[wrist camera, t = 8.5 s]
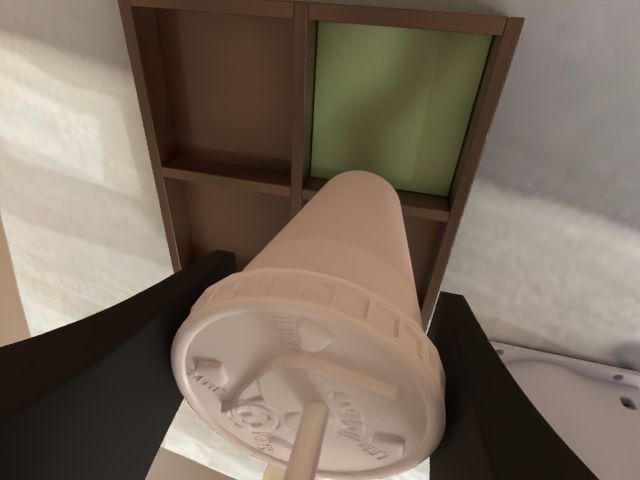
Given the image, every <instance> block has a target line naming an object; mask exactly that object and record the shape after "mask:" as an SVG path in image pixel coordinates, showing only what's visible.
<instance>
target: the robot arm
mask: <svg viewBox="0 0 640 480" xmlns="http://www.w3.org/2000/svg"><path fill="white" fill-rule="evenodd" d="M234 273H237V269H236V258H235V253H234V252H229V251H224V250H218V249H217V250H215V251H213V252H211V253H209V254H208V255H206V256H204V257H202V258H201V259H199V260H197V261H196V262H194V263H192V264H190V265H189V266H187V267H185V268H184V269H182V270H180V271H178V272H177V273H175V274H173V275H171V276H170V277H168V278H166V279H164V280H163V281H161V282H159V283H157V284H155V285H153V286H152V287H150V288H148V289H146V290H144V291H142V292H140V293H138V294H136V295H134V296H132V297H131V298H129V299H127V300H125V301H123V302H120V303H118V304H116V305H114V306H112V307H110V308H108V309H105V310H103V311H101V312H98V313H96V314H94V315H91V316H89V317H86V318H84V319H82V320H79V321H76V322H74V323H71V324H68V325H65V326H63V327H60V328H57V329H55V330H52V331H49V332H46V333H44V334H41V335H38V336H35V337H32V338H29V339H26V340H22V341H19V342H17V343H13V344H9V345H6V346H3V347H0V480H145V478H146V476H147V474H148V471H149V469H150V467H151V465H152V462H153V460H154V458H155V456H156V454H157V452H158V450H159V448H160V445H161V443H162V441H163V439H164V437H165V435H166V433H167V431H168V429H169V427H170V425H171V423H172V421H173V419H174V417H175V415H176V413H177V411H178V409H179V407H180V405H181V403H182V401H183V399H184V396H183V395H182V393H181V392H180V390H179V388H178V385H177V382H176V380H175V377H174V375H173V371H172V365H171V347H172V343H173V339H174V337H175V335H176V333H177V331H178V330H179V328H180V327H181V325H182V324H183V322H184V321H185V320H186V319H187V318H188V316H189V315H190V312H191V308H192V306H193V305H194V304H195V303H196V301H197V300H198V299H199V298H200V296H201V295H202V294H203V293H204V291H205V290H206V289H207V288H208V287H210V286H212V285H214V284H215V283H217V282H219V281H221V280H222V279H224V278H226V277H228V276H229V275H231V274H234ZM427 337H428V338H429V339H430V340H431V342H432V343H433V344H434V346H435V347H436V348H437V351H438V354H439V357H440V360H441V363H442V366H443V369H444V371H445V374H446V386H445V413H446V424H445V430H444V434H443V437H442V439H441V441H440V443H439V445H438V447H437V448H436V449H435V451H434V452H433V453H432V454H431V455H430V480H640V390H639V388H640V372H637V371H632V370H627V369H622V368H618V367H613V366H608V365H603V364H598V363H594V362H589V361H584V360H579V359H575V358H570V357H565V356H560V355H555V354H551V353H546V352H541V351H536V350H531V349H527V348H522V347H517V346H512V345H507V344H503V343H498V342H493V341H489V340H488V338H487V336H486V335H485V333H484V331H483V329H482V328H481V326H480V324H479V323H478V321H477V319H476V317H475V316H474V314H473V312H472V310H471V308H470V306H469V305H468V303H467V301H466V299H465V298H464V296H463V295H459V294H454V293H448V292H443V291H441V292H440V295H439V298H438V301H437V304H436V308H435V311H434V314H433V317H432V320H431V324H430V327H429V330H428V333H427Z"/></svg>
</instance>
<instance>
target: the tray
mask: <svg viewBox="0 0 640 480" xmlns="http://www.w3.org/2000/svg"><path fill="white" fill-rule="evenodd" d="M118 4H119V9H120V14H121V19H122V23H123V28H124V33H125V38H126V43H127V48H128V52H129V57H130V62H131V67H132V72H133V77H134V82H135V86H136V91H137V96H138V101H139V106H140V111H141V116H142V120H143V125H144V130H145V135H146V140H147V145H148V150H149V154H150V159H151V164H152V169H153V174H154V179H155V184H156V188H157V193H158V198H159V203H160V208H161V213H162V217H163V222H164V227H165V232H166V237H167V242H168V247H169V251H170V256H171V261H172V266H173V271H174V274H175V273H177V272H178V271H180V270H182V269H184V268H185V267H187V266H189V265H190V264H192V263H194V262H196V261H197V260H199V259H201V258H202V257H204V256H206V255H208V254H209V253H211V252H213V251H215V250H217V249H218V250H224V251H229V252H234V253H235V258H236V269H237V273H238V272H242V271H243V270H244V268H245V267H246V266H247V265H248V264H249V263H250V262H251V261H252V260H253V259H254V258H255V257H256V256H257V255H258V254H259V253H260V252H261V251H262V250H263V249H264V248H265V247H266V246H267V245H268V244H269V243H270V242H271V241H272V240H273V239H274V238H275V237H276V235H277V234H278V233H279V232H280V231H281V230H282V229H283V228H284V227H285V226H286V225H287V224H288V223H289V222H290V221H291V220H292V219H293V218H294V217H295V216H296V215H297V214H298V213H299V211H300V210H301V209H302V208H303V207H304V206H305V205H306V204H307V203H308V202H309V201H310V200H311V199H312V198H313V197H314V196H315V195H316V194H317V193H318V192H319V191H320V190H321V189H322V187H323V186H324V185H325V184H326V183H327V182H328V181H329V180H331V179H332V178H333V177H335V176H337V175H338V174H341V173H344V172H347V171H355V170H360V171H367V172H371V173H374V174H376V175H378V176H380V177H382V178H383V179H385V180H386V181H387V182H388V183H389V184H390V185H391V186H392V187H393V188H394V190H395V191H396V193H397V195H398V197H399V200H400V205H401V210H402V216H403V221H404V227H405V232H406V238H407V243H408V249H409V255H410V260H411V266H412V271H413V277H414V282H415V288H416V293H417V299H418V304H419V308H420V313H421V318H422V325H423V331H424V333H425V332H426V329H427V326H428V323H429V320H430V317H431V314H432V310H433V307H434V304H435V301H436V298H437V295H438V291H439V288H440V285H441V282H442V279H443V276H444V273H445V269H446V266H447V263H448V260H449V257H450V254H451V250H452V247H453V244H454V241H455V238H456V235H457V232H458V228H459V225H460V222H461V219H462V216H463V213H464V209H465V206H466V203H467V200H468V197H469V194H470V191H471V187H472V184H473V181H474V178H475V175H476V172H477V169H478V165H479V162H480V159H481V156H482V153H483V150H484V146H485V143H486V140H487V137H488V134H489V131H490V128H491V124H492V121H493V118H494V115H495V112H496V109H497V105H498V102H499V99H500V96H501V93H502V90H503V87H504V83H505V80H506V77H507V74H508V71H509V68H510V65H511V61H512V58H513V55H514V52H515V49H516V46H517V42H518V39H519V36H520V33H521V30H522V27H523V24H524V20H525V19H524V18H520V17H507V16H493V15H479V14H465V13H451V12H437V11H423V10H410V9H396V8H382V7H368V6H354V5H340V4H326V3H313V2H299V1H285V0H118Z"/></svg>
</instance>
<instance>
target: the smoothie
mask: <svg viewBox="0 0 640 480" xmlns="http://www.w3.org/2000/svg"><path fill="white" fill-rule="evenodd" d="M171 365H172V371H173V375H174V377H175V380H176V382H177V385H178V388H179V390H180V392H181V393H182V395H183V396H184V398H185V400H186V401H187V403H188V404H189V406H190V407H191V408H192V409H193V410H194V411H195V413H196V414H197V415H198V416H199V417H200V418H201V419H202V420H203V421H204V422H205V423H206V424H207V425H208V426H209V427H210V428H212V429H213V430H214V431H215V432H216V433H217V434H219V435H220V436H221V437H223V438H224V439H226V440H227V441H229V442H230V443H231V444H233V445H234V446H236V447H238V448H240V449H241V450H243V451H245V452H247V453H249V454H250V455H252V456H254V457H256V458H259V459H261V460H263V461H265V462H268V463H270V464H272V465H275V466H277V467H280V468H283V469H286V472H285V475H284V479H283V480H315V477H317V478H324V479H331V480H374V479H382V478H386V477H390V476H394V475H398V474H401V473H403V472H405V471H407V470H409V469H411V468H414V467H416V466H417V465H419V464H420V463H421V462H423V461H424V460H426V459H427V458H428V457H429V456H430V455H431V454H432V453H433V452H434V451H435V449H436V448H437V447H438V445H439V443H440V441H441V439H442V437H443V434H444V430H445V424H446V413H445V386H446V374H445V371H444V369H443V366H442V363H441V360H440V357H439V354H438V351H437V348H436V347H435V346H434V344H433V343H432V342H431V340H430V339H429V338H428V337H427V335H426V334H425V333H424V331H423V325H422V318H421V313H420V308H419V304H418V299H417V293H416V288H415V282H414V277H413V271H412V266H411V260H410V255H409V249H408V243H407V238H406V232H405V227H404V221H403V216H402V210H401V205H400V200H399V197H398V195H397V193H396V191H395V190H394V188H393V187H392V186H391V185H390V184H389V183H388V182H387V181H386V180H385V179H383V178H382V177H380V176H378V175H376V174H374V173H371V172H367V171H360V170H355V171H347V172H344V173H341V174H338V175H337V176H335V177H333V178H332V179H331V180H329V181H328V182H327V183H326V184H325V185H324V186H323V187H322V189H321V190H320V191H319V192H318V193H317V194H316V195H315V196H314V197H313V198H312V199H311V200H310V201H309V202H308V203H307V204H306V205H305V206H304V207H303V208H302V209H301V210H300V211H299V213H298V214H297V215H296V216H295V217H294V218H293V219H292V220H291V221H290V222H289V223H288V224H287V225H286V226H285V227H284V228H283V229H282V230H281V231H280V232H279V233H278V234H277V235H276V237H275V238H274V239H273V240H272V241H271V242H270V243H269V244H268V245H267V246H266V247H265V248H264V249H263V250H262V251H261V252H260V253H259V254H258V255H257V256H256V257H255V258H254V259H253V260H252V261H251V262H250V263H249V264H248V265H247V266H246V267H245V268H244V270H243V271H242V272H238V273H234V274H231V275H229V276H228V277H226V278H224V279H222V280H221V281H219V282H217V283H215V284H214V285H212V286H210V287H208V288H207V289H206V290H205V291H204V293H203V294H202V295H201V296H200V298H199V299H198V300H197V301H196V303H195V304H194V305H193V306H192V308H191V312H190V315H189V316H188V318H187V319H186V320H185V321H184V322H183V324H182V325H181V327H180V328H179V330H178V331H177V333H176V335H175V337H174V339H173V343H172V347H171Z"/></svg>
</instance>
